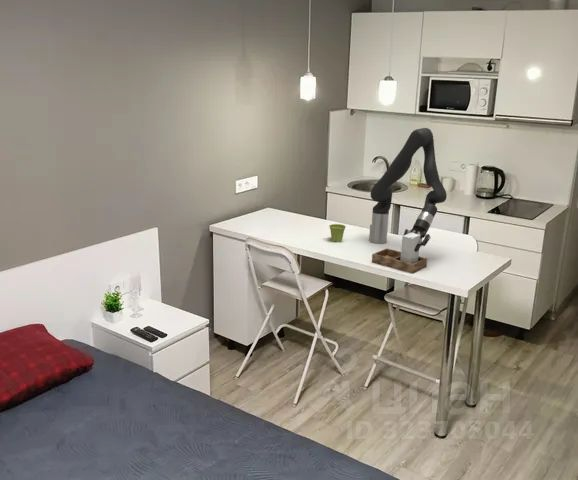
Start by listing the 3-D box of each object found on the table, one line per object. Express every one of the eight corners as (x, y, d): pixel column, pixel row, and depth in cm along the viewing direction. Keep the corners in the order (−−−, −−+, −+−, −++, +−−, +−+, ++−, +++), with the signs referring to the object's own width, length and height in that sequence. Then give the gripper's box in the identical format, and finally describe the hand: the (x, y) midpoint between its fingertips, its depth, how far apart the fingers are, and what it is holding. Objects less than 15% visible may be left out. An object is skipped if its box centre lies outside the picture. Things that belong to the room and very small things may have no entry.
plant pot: (325, 239, 354) (326, 224, 351) (339, 237, 358) (340, 223, 355) (333, 243, 346) (334, 229, 343) (348, 241, 350) (348, 227, 347)
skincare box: (408, 259, 315) (410, 232, 310) (418, 262, 311) (421, 234, 306) (399, 263, 309) (401, 235, 304) (409, 266, 305) (412, 237, 301)
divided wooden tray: (371, 262, 316) (372, 254, 315) (386, 256, 326) (387, 248, 325) (412, 273, 301) (413, 264, 300) (426, 266, 311) (427, 258, 310)
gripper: (408, 215, 314) (394, 242, 309) (434, 221, 305) (420, 249, 300) (413, 223, 319) (399, 250, 314) (438, 229, 310) (424, 256, 305)
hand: (409, 249), depth 307 cm, fingers closed on skincare box, 6 cm apart
